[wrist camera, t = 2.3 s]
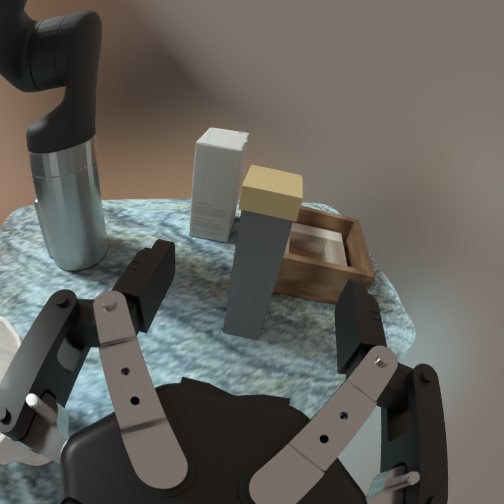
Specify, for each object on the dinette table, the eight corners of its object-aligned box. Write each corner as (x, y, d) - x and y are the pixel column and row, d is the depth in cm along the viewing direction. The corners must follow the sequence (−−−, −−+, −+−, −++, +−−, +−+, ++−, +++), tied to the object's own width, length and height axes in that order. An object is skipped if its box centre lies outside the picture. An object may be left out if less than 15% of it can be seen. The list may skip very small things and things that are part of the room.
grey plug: (221, 333, 31) (242, 185, 20) (228, 305, 35) (251, 164, 24) (259, 341, 31) (302, 198, 20) (264, 312, 35) (302, 175, 24)
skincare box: (201, 210, 51) (209, 126, 41) (237, 217, 51) (251, 132, 41) (188, 237, 44) (193, 140, 34) (229, 245, 44) (243, 147, 34)
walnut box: (243, 285, 38) (250, 250, 34) (257, 228, 49) (263, 197, 45) (357, 308, 37) (374, 277, 34) (346, 248, 48) (358, 220, 45)
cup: (28, 504, 10) (-48, 483, 3) (-26, 408, 15) (-86, 352, 8) (107, 442, 19) (58, 400, 12) (42, 356, 23) (-2, 287, 17)
